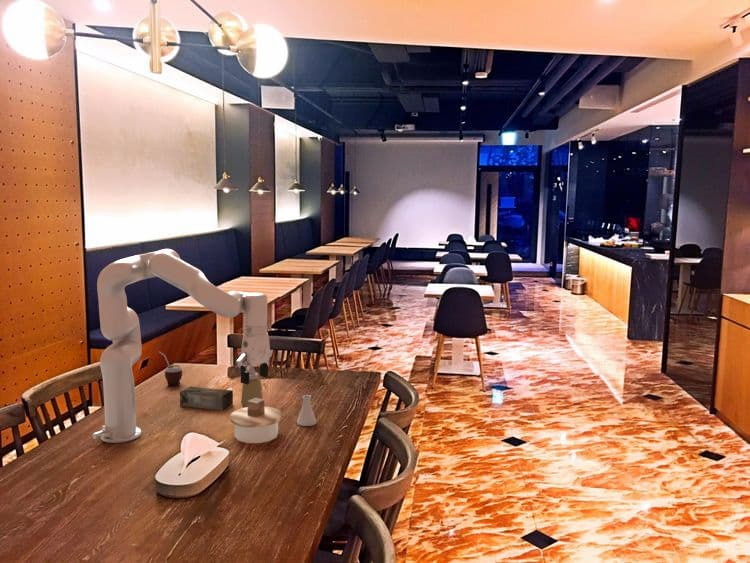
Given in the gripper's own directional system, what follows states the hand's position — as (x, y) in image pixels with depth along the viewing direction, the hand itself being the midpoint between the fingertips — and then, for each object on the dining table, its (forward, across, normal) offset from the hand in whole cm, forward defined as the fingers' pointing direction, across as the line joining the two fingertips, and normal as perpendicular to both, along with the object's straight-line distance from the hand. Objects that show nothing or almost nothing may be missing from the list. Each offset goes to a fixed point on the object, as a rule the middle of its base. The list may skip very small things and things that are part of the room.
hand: (254, 380), depth 208 cm
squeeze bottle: (+20, +18, +16) cm, 31 cm away
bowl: (+19, 0, -1) cm, 19 cm away
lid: (+13, 0, -1) cm, 13 cm away
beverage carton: (+20, +14, +35) cm, 43 cm away
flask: (+19, +18, -9) cm, 28 cm away
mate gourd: (+21, +26, +65) cm, 73 cm away
